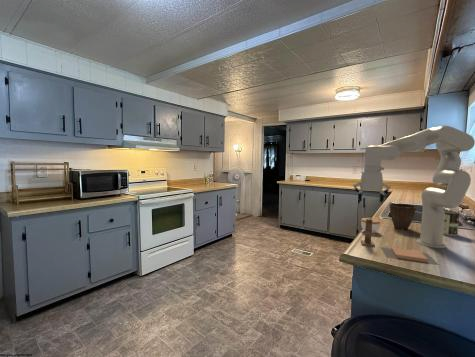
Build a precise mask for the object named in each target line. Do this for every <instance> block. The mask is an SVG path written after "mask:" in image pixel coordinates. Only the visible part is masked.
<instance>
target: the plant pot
mask: <svg viewBox="0 0 475 357" xmlns="http://www.w3.org/2000/svg"><path fill="white" fill-rule="evenodd" d="M416 210H417V206H415V205H411V204H408V203H405V204H404V203H389V212H390V218H391V222H392V225H393V227H394V228H395V229H396V228H398V229H397V230H400V229H408V230H409V229H410V226H411V224H412V222H413V219H414V217H415V213H416Z"/></svg>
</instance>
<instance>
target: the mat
mask: <svg viewBox="0 0 475 357" xmlns="http://www.w3.org/2000/svg"><path fill="white" fill-rule="evenodd" d="M380 249H381V250H382V252H383V254H384V255H385V257H386V258H388V259H396V260H403V261H409V262H416V263H420V264H430V265H437V266H440V264H439V263H438V262H437V261H436V260H435V259H434V258H433V257H432V256H430V254H429V253H427V252H421V253H422V254H423V255H424V256H425V257H426V258H427V259H428V262H421V261H414V260H408V259H401V258H396V257H395V256H394V254H393V253H392V251H391V247H382V246H380Z"/></svg>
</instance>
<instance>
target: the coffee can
mask: <svg viewBox="0 0 475 357" xmlns="http://www.w3.org/2000/svg"><path fill="white" fill-rule="evenodd" d="M444 212H445V218H444V229H443V236H444V235H446V236H450V237H451V236H453V237H457V236H458V233H459V232H458V230H459V224H460V223H459V221H460V214H461V213H460V212H458V211H452V210H445V209H444Z"/></svg>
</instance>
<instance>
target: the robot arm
mask: <svg viewBox="0 0 475 357" xmlns="http://www.w3.org/2000/svg"><path fill="white" fill-rule="evenodd" d="M433 144H435V148H436V150H437V151H438V154H439V156H440V161H439V164H438V166H437V168H436V170H435V172H434V175H433V177H432V183H433V184H434V185H435V186H438V187H434V186H433V187H427V188H425V189H423V191H422V192H421V196H420V198H421V202H422V211H421V212H422V214H421V222H420V236H419V238H417V239H416V241H415V242H416V243H417V244H419V245H422V246H426V247H428V248H435V249H444V248H445V249H446V247H447V245H446V244H445V243H444V242H443V238H444V234H443V229H444V218H445V212H444V210H445V209H444V208H447V209H455V208H458V207H459V206H460V205H461V203H462V202H463V199H464V198H465V196H466V194H467V192H468V190H469V188H470V185H471V180H472V178H471V175H470V173H469V172H467V171H466V170H463V169H460V167H461V164H462V159H461V156H460V155H459V152H461V153H463V152H468V151H470V150H471V149H473V148H474V147H475V138H474V137H473V136H472V135H471V134H469V133H467V132H464V131H463V130H460V129H459V128H455V127H452V126H450V125H441V126H434V127H428V128H426V129H423V130H421V131H418V132H416V133H413V134H411V135H408V136H404V137H401V138H398V139H395V140H391V141H388V142H385V143H383V144H381V145H369V146H368V145H367V146H366V147H365V152H364V167H363V168H364V169H363V170H364V171H362V172H361V178H360V182H357V183H355V184H352V186H353V188H354V191H356V193H357V194H358V195H357V196H358V197H357V198H358V200H359V202H362V198H363V196H362V195H363V194H362V193H363V192H365V191H368V192H379V193H380V194H379V202H380V203H383V201H385V198H384V197H385V195H386V194H387V193H388V192H389V191H390V190H391V186H390V185H388V184H385V183H384V182H383V181H384V178H383V177H384V176H383V172H382V171H384V170H385V167H383V166H382V161H392V160H393V161H394V160H396V159H397V158H399V156H401V154H403V153H410V152H416V151H418V150H420V149H422V148H426V147H428V146H431V145H433ZM358 187H360V189H358ZM383 187H385V188H386V189H384V190H383ZM440 187H441V188H440Z"/></svg>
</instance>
